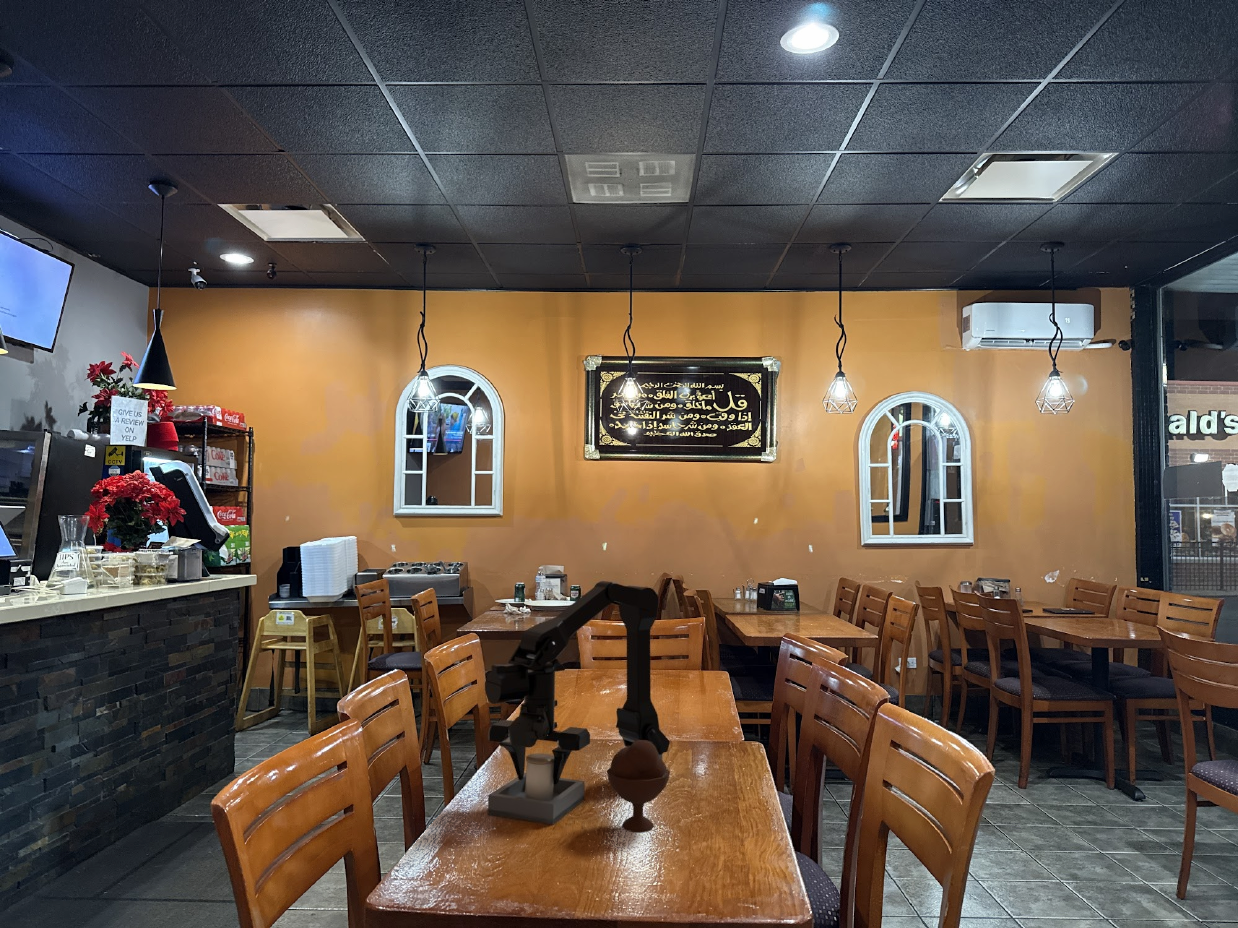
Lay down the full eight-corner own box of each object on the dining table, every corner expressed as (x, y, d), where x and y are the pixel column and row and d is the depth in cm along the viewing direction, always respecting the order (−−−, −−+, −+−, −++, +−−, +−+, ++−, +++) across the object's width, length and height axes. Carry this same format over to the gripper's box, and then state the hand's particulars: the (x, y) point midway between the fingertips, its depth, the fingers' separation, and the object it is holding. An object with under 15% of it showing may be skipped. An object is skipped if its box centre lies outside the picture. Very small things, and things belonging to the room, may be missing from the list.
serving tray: (584, 799, 155) (584, 780, 155) (553, 824, 142) (553, 804, 142) (523, 791, 160) (523, 772, 160) (487, 814, 147) (488, 794, 147)
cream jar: (558, 798, 153) (560, 755, 153) (545, 808, 148) (547, 763, 148) (532, 794, 154) (534, 751, 155) (519, 803, 149) (521, 759, 150)
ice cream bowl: (675, 819, 145) (676, 733, 147) (658, 842, 135) (658, 749, 136) (619, 811, 149) (620, 728, 150) (598, 833, 138) (599, 743, 139)
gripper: (474, 700, 148) (472, 788, 147) (567, 710, 142) (566, 801, 141) (503, 689, 159) (501, 771, 157) (591, 697, 152) (590, 782, 151)
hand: (538, 781), depth 151 cm, fingers open, 7 cm apart
